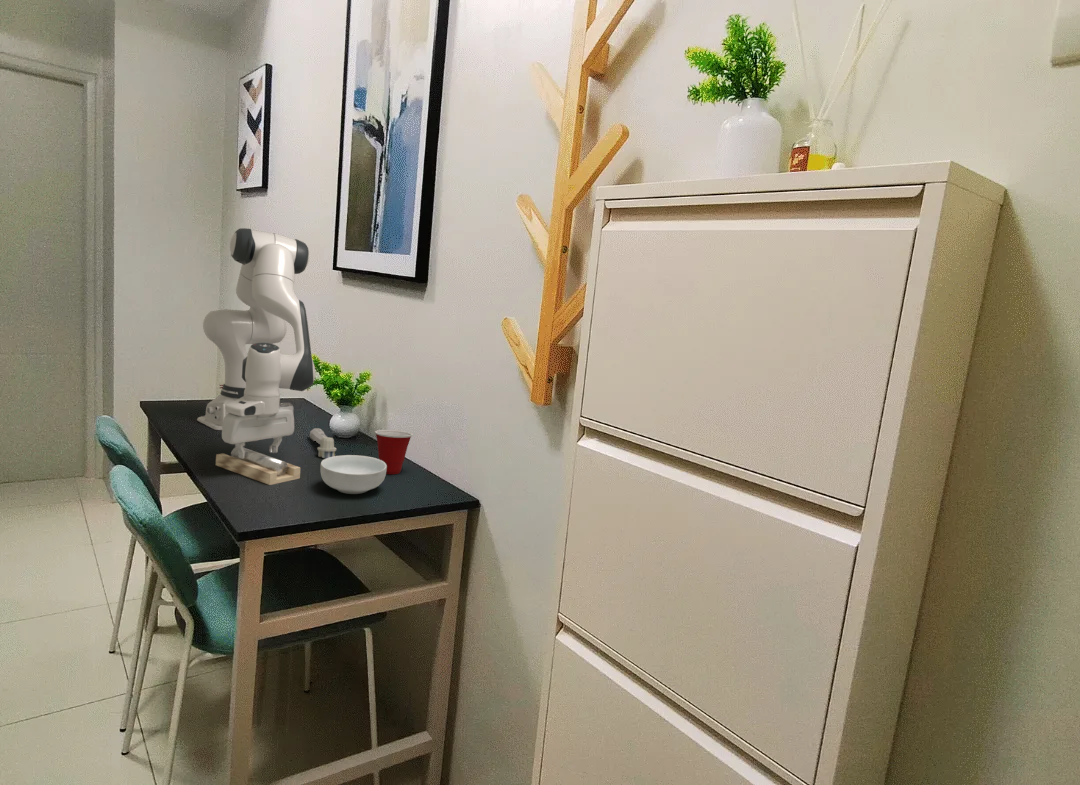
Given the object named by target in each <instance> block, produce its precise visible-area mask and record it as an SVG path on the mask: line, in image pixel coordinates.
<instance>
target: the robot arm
mask: <svg viewBox="0 0 1080 785" xmlns="http://www.w3.org/2000/svg"><path fill="white" fill-rule="evenodd" d="M229 251H230V256H231V258H232V259H233V260H234V261H235V262H237V263H239V264H241V267H240V271H239V273H238V274H239V275H238V279H237V284H236V288H235V294H236V296H237V298H238V299H239V301H241V302H242V303H243V304H245V305H247V306H248V307H249V309H248V310H243V309H242V310H241V309H226V308H225V309H217V310H211V311H209V312H208V313H207V314H206V315H205V317H204V319H203V322H202V324H203V325H202V327H203V328H202V329H203V332H204V334H205V336H206V337H207V339H208V340H210V341H211V342H213V344H215V346H217V348H218V349H219V350H220V352H221V355H222V357H223V361H224V383H223V384H219V389H221V390H220V392H219V393H220V394H219V395H218V396H216V397H215V398H214V399H212V400H210V401H209V402H208V403H207V404H206V407H205V415H201V416H199V417H197V419H196V421H198V422H199V423H201V424H203V425H205V426H207V427H209V428H211V429H212V430H215V431H221V439H222V440H223V442H224V443H227V444H230V445H234V447H236V448H237V450H238V451H239V455H238V456H239V458H241V459H244V458H247V457H248V456H247V455H248V452H247V451H245V450H244V448H245V446H246V443H249V442H257V441H261V440H269V439H273V442H272V443H271V445H269V447H268V452H269V453H270V454H277V453H278V450H279V446H280V445H281V444H282V443H281V442H282V441H283V437H287V436H292V435H293V434H294V432H295V417H294V406H293V404H292V403H290V402H288V401H285V402H281V401H280V398H281V393H280V392H281V391H280V389H282V390H283V389H287V390H291V391H299V392H304V391H305V390H307V389H309V388H310V387H312V386H313V384H314V382H315V379H316V367H315V363H314V360H313V357H312V350H311V340H310V339H311V337H310V331H309V330H310V329H309V324H308V323H309V322H308V316H307V310H306V307H305V306H306V305H305V303H304V302H303V301H302V300H301V299H299V298H298V297H297V294H296V292H295V275H300V274H301V273H303V272H304V271H305V270H306V268H307V266H308V264H309V262H310V252H309V247H308V245H307V244H306V243H305V242H304V241H301V240H299V239H297V238H295V239H294V238H291V237H288V236H285V235H281V234H279V233H274V232H273V233H271V232H268V231H262V230H254V229H253V230H252V229H251V228H246V227H245V228H243V227H242V228H238V229H236V230H235V231H234V234H233V235H232V237H231V238H230V242H229ZM287 323H288V324H289V325H290V326H291V327H292V329H293V333H294V342H295V351H296V352H295V353H294V354H287V353H286V354H285V353H281V349H280V347H279V346H278V345H276V344H278V343H281V342H282V341H283V340H284V338H285V337H286V333H287ZM246 345H250V346H249V348H248V352H247V350H246Z"/></svg>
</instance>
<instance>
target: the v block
mask: <svg viewBox="0 0 1080 785" xmlns="http://www.w3.org/2000/svg"><path fill="white" fill-rule="evenodd" d="M286 463H287V465H288V469H287V471H286V473H285V474H284V475H282V476H277V472H274V471H272V470H269V469H266V468H263V467H260V466H257V465H255V464H252V463H249V462H246V461H243V460H240V459H238V458H235V457H232V456H231V455H229V454H226V453H223V452H222V453H218V454H217V453H216V454H215V466H217V467H219V468H223V469H225V470H227V471H231V472H233V473H236V474H239V475H241V476H244V477H247V478H249V479H252V480H255V481H258V482H260V483H262V484H266V485H269V486H272V485H277V484H280V483H286V482H289V481H290V482H291V481H293V480H298V479H300V478H301V467H300V466H297V465H294V464H292V463H289V462H286Z"/></svg>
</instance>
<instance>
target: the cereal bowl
mask: <svg viewBox="0 0 1080 785" xmlns="http://www.w3.org/2000/svg"><path fill="white" fill-rule="evenodd" d="M319 469H320V470H319V471H320V477H321V478H322V480H323V482H324V484H326V485H327V486H329V488H332V489H333V490H337V491H338V492H340V493H343V494H349V495H358V494H363V493H367V492H368V491H371V490H373V489H376V488H377V487H379V486H380V485H381V484H382V483H383V482H384V480H385V477H386V475H387V474H386V470H387V465H386V464H385V462H383V461H381V460H379V458H376V457H372V456H367V455H360V454H359V455H357V454H356V455H355V454H353V455H352V454H346V455H345V454H344V455H335V456H334V457H329V458H323V459H322V460H321V462H320V466H319Z"/></svg>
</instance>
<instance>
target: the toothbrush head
mask: <svg viewBox="0 0 1080 785" xmlns="http://www.w3.org/2000/svg"><path fill="white" fill-rule="evenodd" d="M309 438H310V439H311V440H312V441H313V442H314V441H316V442H315V443H318V445H319V446H318V447H317V451H318V454H317V455H318V456H317V457H319V458H322V459H326V458H329V457H334V456H336V451H337V448H336V447H335V440H334V438H333V437H328V436H327V435H326V434H325V432H324V430H323V429H321V428H318V427H317V428H312V429H311V430H310V431H309Z"/></svg>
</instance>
